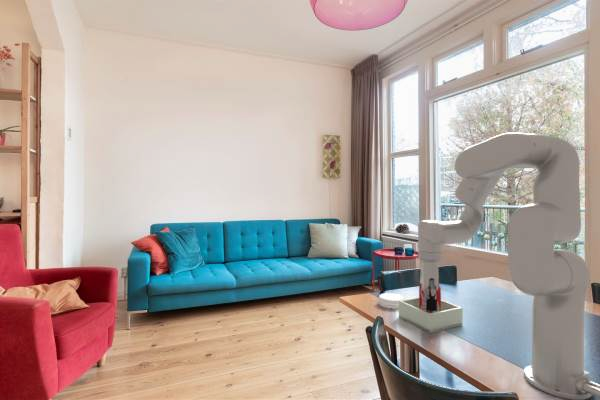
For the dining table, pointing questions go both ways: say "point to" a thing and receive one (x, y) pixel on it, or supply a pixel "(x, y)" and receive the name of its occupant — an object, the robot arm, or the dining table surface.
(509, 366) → the dining table surface
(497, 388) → the dining table surface
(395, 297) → the white short cylinder
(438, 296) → the soda can
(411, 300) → the bin
